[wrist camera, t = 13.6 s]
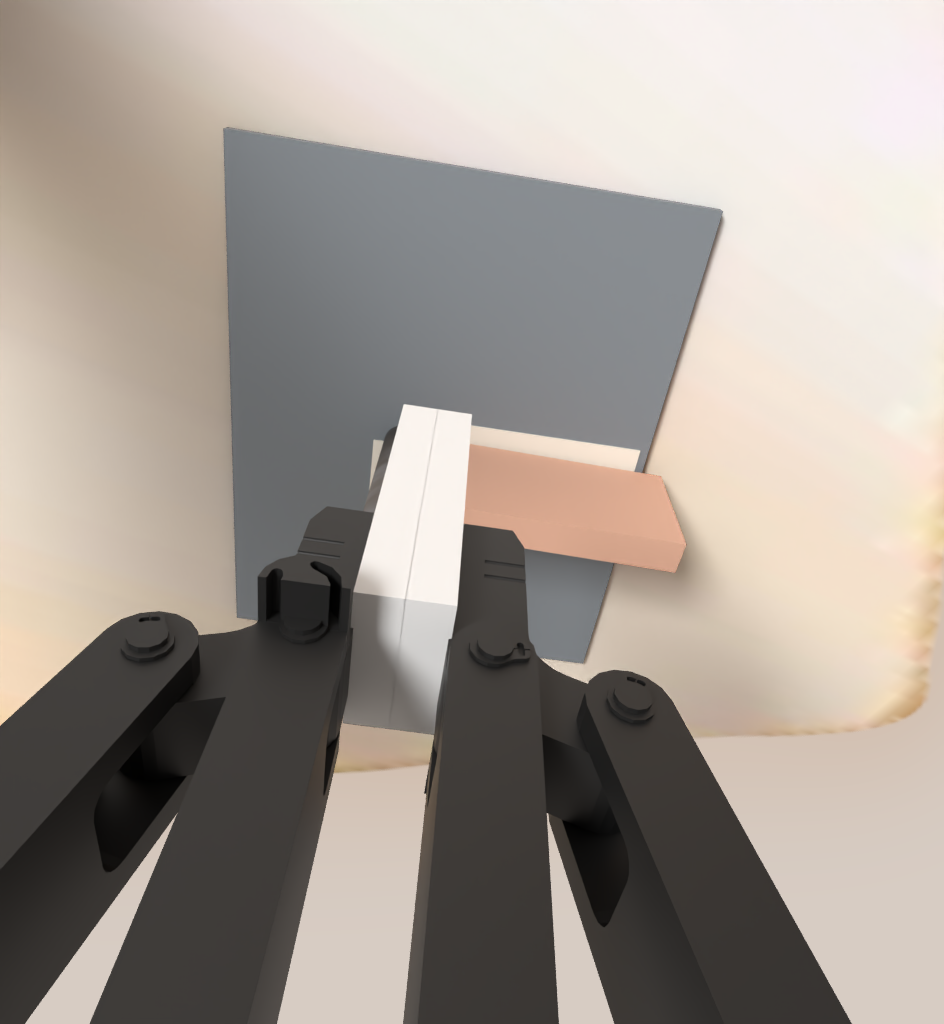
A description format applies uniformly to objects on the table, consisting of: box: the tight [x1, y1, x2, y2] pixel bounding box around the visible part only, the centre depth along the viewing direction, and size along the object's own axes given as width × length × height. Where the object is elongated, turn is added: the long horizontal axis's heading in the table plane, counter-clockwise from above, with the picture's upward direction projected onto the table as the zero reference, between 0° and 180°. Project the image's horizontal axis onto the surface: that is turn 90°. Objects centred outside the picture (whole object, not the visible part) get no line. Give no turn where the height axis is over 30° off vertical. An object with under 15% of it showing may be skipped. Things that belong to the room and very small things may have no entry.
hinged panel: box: [464, 444, 687, 573], centre depth 40 cm, size 2×13×7 cm, turn 80°
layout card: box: [223, 127, 723, 663], centre depth 43 cm, size 24×32×4 cm
